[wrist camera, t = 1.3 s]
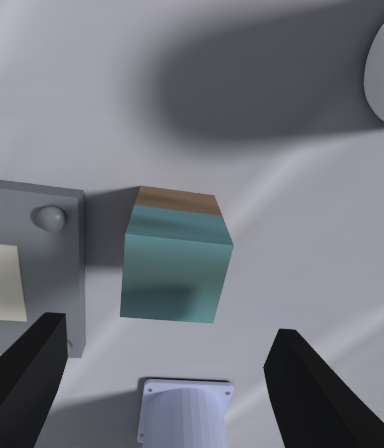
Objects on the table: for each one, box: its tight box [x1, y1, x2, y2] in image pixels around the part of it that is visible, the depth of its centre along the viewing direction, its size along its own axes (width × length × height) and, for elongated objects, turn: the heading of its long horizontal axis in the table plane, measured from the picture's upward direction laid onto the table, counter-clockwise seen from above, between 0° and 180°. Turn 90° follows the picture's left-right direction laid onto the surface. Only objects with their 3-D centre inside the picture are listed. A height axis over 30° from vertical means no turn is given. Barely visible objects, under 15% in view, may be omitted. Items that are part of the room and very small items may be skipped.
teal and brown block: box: [120, 186, 234, 323], centre depth 15 cm, size 4×4×6 cm
